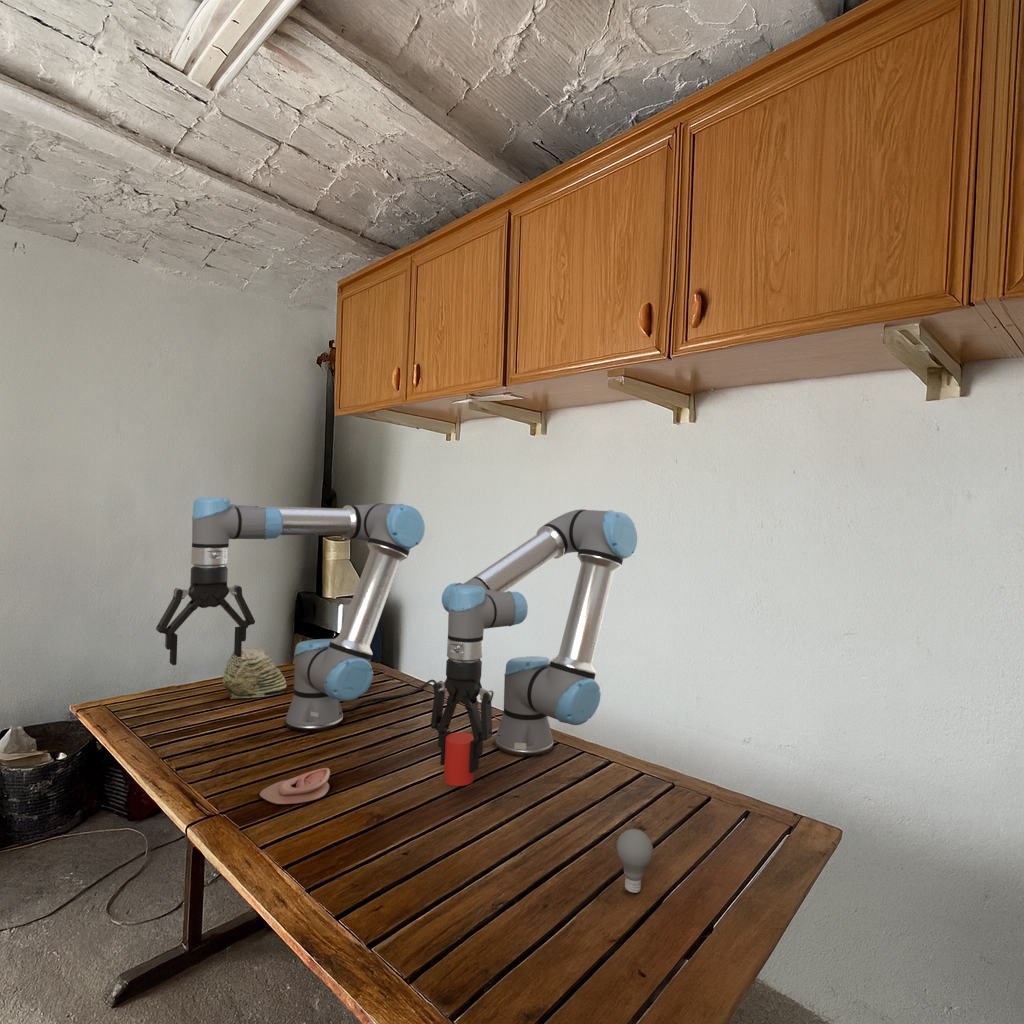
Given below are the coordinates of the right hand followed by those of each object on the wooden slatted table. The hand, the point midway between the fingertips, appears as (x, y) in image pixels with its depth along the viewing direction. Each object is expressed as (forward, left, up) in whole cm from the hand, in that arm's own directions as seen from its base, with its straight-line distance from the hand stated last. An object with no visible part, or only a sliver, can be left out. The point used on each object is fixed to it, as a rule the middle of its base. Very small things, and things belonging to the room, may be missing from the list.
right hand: (459, 766), depth 135 cm
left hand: (+27, -53, +18) cm, 62 cm away
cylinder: (0, 0, -3) cm, 3 cm away
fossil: (-11, -93, -7) cm, 94 cm away
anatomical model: (+20, -28, -7) cm, 35 cm away
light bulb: (+5, +43, -7) cm, 44 cm away
